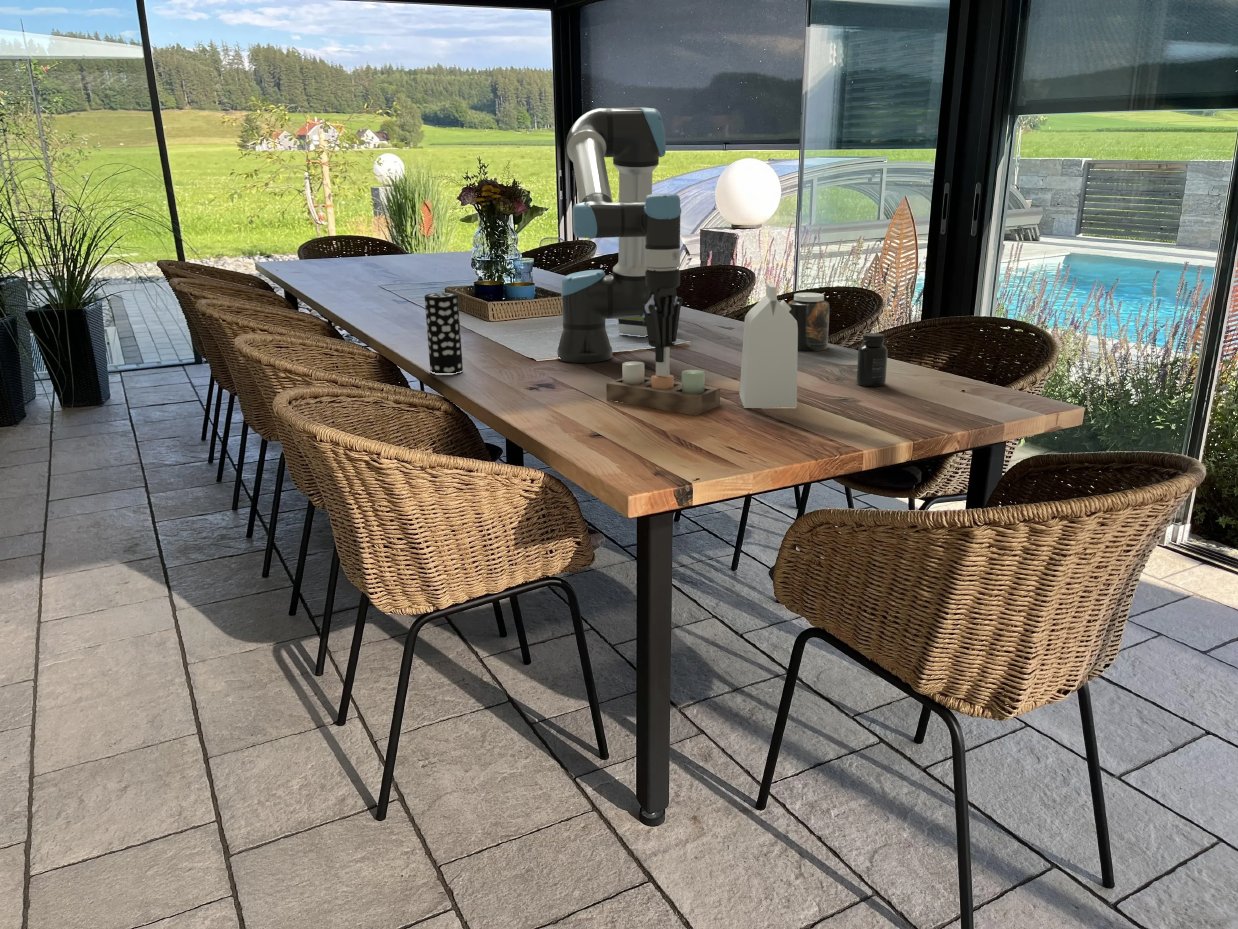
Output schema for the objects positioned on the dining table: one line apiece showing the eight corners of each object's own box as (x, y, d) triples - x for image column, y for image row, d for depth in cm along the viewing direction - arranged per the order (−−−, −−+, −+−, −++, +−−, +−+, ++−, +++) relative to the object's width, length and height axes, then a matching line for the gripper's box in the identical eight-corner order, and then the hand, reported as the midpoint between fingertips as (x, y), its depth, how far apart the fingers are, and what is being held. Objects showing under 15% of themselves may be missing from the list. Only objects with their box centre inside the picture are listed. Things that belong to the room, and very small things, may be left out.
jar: (781, 350, 266) (783, 296, 261) (790, 342, 276) (792, 290, 272) (823, 352, 262) (826, 298, 257) (830, 344, 272) (833, 292, 267)
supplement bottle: (886, 381, 229) (890, 332, 225) (884, 388, 222) (888, 337, 219) (857, 380, 231) (860, 331, 227) (854, 386, 225) (857, 336, 221)
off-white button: (618, 386, 216) (617, 364, 214) (630, 381, 219) (630, 360, 218) (636, 388, 213) (636, 367, 211) (648, 384, 217) (648, 363, 215)
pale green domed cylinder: (677, 395, 207) (677, 373, 205) (689, 390, 210) (689, 368, 209) (696, 398, 204) (697, 375, 202) (708, 393, 208) (709, 371, 206)
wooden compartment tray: (606, 400, 215) (606, 383, 214) (632, 391, 223) (631, 374, 222) (696, 415, 202) (696, 397, 201) (720, 405, 210) (720, 387, 208)
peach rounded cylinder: (647, 399, 212) (647, 377, 210) (659, 394, 216) (659, 373, 214) (665, 402, 209) (665, 380, 207) (678, 397, 213) (678, 375, 211)
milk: (739, 395, 218) (742, 281, 210) (789, 394, 218) (794, 281, 210) (744, 408, 207) (747, 289, 199) (796, 408, 207) (802, 288, 198)
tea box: (644, 327, 302) (644, 281, 298) (671, 330, 297) (671, 283, 292) (617, 335, 291) (616, 287, 286) (644, 338, 285) (644, 289, 280)
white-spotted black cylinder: (469, 370, 247) (464, 293, 241) (451, 377, 240) (445, 298, 233) (442, 367, 250) (437, 292, 244) (424, 374, 243) (417, 296, 237)
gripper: (660, 272, 196) (660, 383, 203) (693, 266, 206) (692, 372, 213) (630, 270, 200) (632, 379, 208) (664, 264, 210) (664, 368, 218)
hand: (662, 375), depth 210 cm, fingers closed
